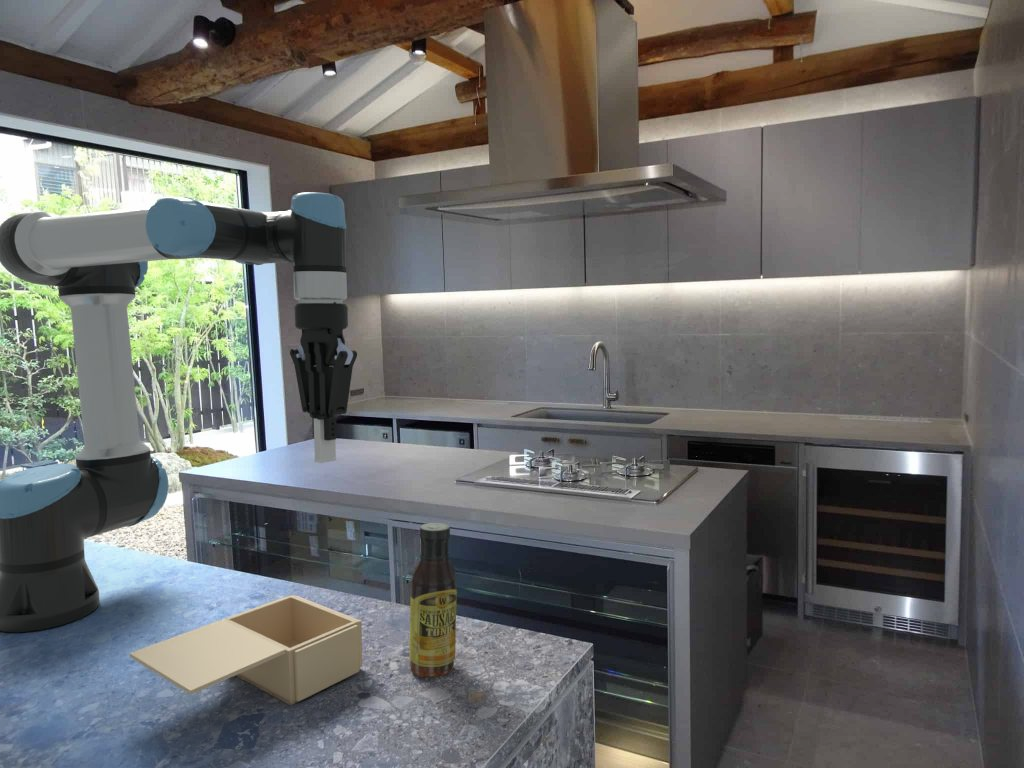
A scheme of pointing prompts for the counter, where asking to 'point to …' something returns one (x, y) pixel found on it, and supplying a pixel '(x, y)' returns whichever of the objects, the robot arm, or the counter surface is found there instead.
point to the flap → (206, 655)
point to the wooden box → (302, 647)
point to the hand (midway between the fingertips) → (325, 460)
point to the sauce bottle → (433, 605)
